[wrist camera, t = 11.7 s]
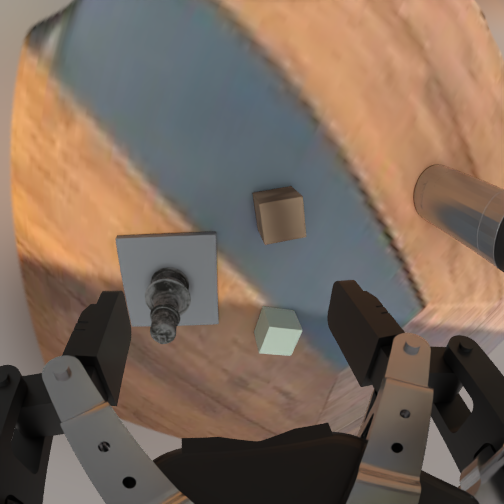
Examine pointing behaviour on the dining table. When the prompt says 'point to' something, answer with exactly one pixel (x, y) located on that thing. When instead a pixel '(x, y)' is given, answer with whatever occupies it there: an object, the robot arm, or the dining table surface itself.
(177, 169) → the dining table surface
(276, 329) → the sage block
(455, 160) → the dining table surface
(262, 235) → the walnut block
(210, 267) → the serving board
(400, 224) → the dining table surface
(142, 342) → the dining table surface
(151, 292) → the salt shaker
